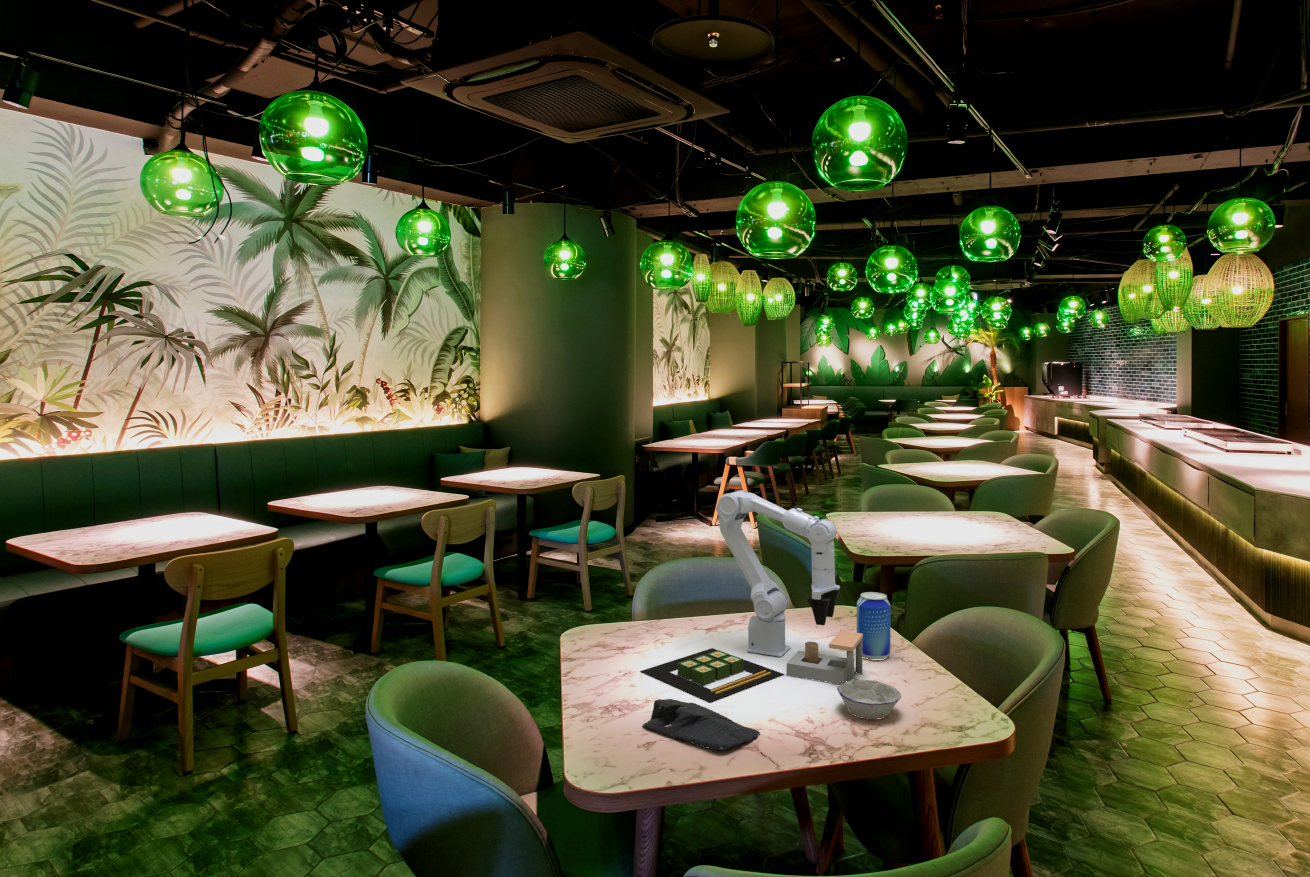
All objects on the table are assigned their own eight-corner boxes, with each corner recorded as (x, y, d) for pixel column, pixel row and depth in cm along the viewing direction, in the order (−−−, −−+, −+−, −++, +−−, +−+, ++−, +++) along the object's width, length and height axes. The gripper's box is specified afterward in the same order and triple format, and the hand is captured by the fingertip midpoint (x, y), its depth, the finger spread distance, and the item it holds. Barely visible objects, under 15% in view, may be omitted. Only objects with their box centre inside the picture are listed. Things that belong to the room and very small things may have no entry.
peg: (803, 673, 178) (803, 645, 178) (806, 668, 181) (806, 641, 180) (816, 674, 177) (816, 646, 176) (819, 670, 180) (819, 642, 179)
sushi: (710, 705, 161) (709, 689, 161) (639, 674, 180) (639, 659, 180) (783, 677, 177) (783, 662, 177) (712, 651, 196) (712, 637, 196)
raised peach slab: (828, 683, 171) (828, 643, 171) (840, 668, 181) (840, 630, 180) (852, 687, 169) (852, 647, 168) (863, 671, 178) (863, 633, 178)
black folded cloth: (717, 764, 135) (717, 739, 135) (636, 727, 150) (636, 705, 150) (767, 736, 146) (767, 713, 145) (686, 705, 161) (686, 684, 161)
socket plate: (786, 675, 177) (786, 663, 177) (798, 661, 185) (798, 650, 185) (844, 685, 170) (844, 672, 170) (854, 670, 179) (854, 658, 179)
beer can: (886, 650, 193) (886, 591, 192) (893, 661, 185) (893, 599, 184) (854, 650, 194) (854, 590, 193) (860, 661, 185) (860, 599, 185)
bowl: (824, 709, 157) (824, 687, 157) (863, 695, 165) (863, 674, 164) (873, 730, 147) (873, 707, 146) (912, 714, 154) (913, 692, 154)
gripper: (831, 575, 177) (832, 630, 178) (845, 563, 190) (847, 614, 190) (803, 573, 180) (804, 627, 181) (819, 561, 193) (820, 611, 194)
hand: (824, 620), depth 186 cm, fingers open, 7 cm apart
